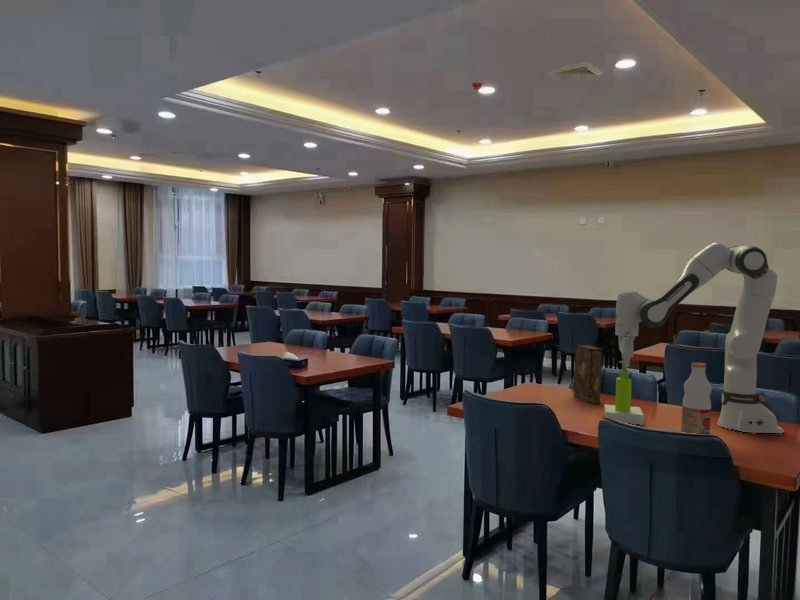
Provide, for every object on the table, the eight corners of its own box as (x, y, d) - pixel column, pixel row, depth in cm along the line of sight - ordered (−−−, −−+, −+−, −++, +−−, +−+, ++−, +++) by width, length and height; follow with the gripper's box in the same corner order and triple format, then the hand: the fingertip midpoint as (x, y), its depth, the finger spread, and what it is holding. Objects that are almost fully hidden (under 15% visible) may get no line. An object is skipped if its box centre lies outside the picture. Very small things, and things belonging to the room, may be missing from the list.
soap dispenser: (625, 408, 246) (627, 360, 245) (632, 412, 239) (634, 363, 238) (611, 408, 246) (613, 360, 245) (618, 412, 239) (620, 363, 238)
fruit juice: (680, 434, 224) (683, 360, 222) (708, 437, 220) (712, 362, 218) (681, 440, 215) (685, 364, 213) (710, 444, 211) (714, 366, 210)
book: (601, 403, 272) (603, 349, 270) (590, 403, 271) (592, 349, 269) (584, 395, 288) (586, 344, 286) (573, 395, 287) (575, 344, 285)
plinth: (639, 416, 249) (639, 407, 248) (643, 425, 235) (643, 415, 235) (603, 413, 252) (604, 404, 252) (606, 421, 239) (606, 412, 239)
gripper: (637, 334, 231) (636, 369, 232) (632, 329, 250) (631, 361, 251) (620, 333, 232) (619, 368, 233) (616, 328, 252) (615, 360, 253)
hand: (625, 364), depth 242 cm, fingers open, 8 cm apart
